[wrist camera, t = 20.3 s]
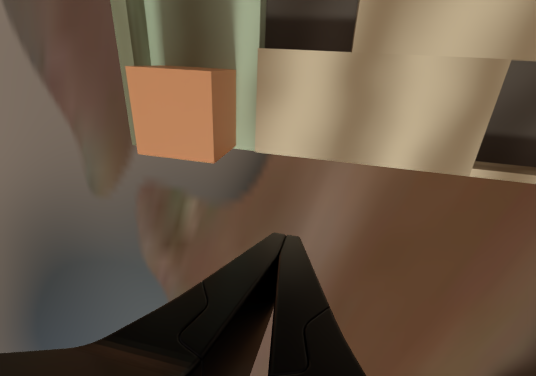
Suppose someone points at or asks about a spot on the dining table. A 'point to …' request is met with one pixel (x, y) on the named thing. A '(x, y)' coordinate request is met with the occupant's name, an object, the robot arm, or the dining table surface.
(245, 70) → the trap board
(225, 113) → the orange block
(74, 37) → the dining table surface
